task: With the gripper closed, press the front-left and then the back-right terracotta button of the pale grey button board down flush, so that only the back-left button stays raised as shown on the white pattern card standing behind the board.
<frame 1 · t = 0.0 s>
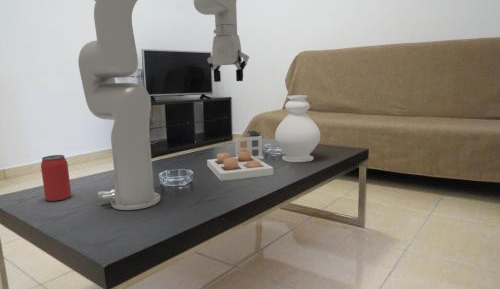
hand: (228, 81, 127), 31 cm above the table, tool pointing down, fingers open, 9 cm apart
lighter: (254, 153, 155), on the table
beer can: (58, 198, 101), on the table
button front left: (230, 163, 120), point 4 cm above the table, slide at 0.0 cm
button board: (238, 170, 127), on the table
decorative vase: (297, 159, 142), on the table
button front right: (253, 166, 123), point 2 cm above the table, slide at 1.9 cm
pattern card: (249, 159, 143), on the table
button back right: (244, 156, 132), point 4 cm above the table, slide at 0.0 cm
button back left: (223, 158, 129), point 4 cm above the table, slide at 0.0 cm
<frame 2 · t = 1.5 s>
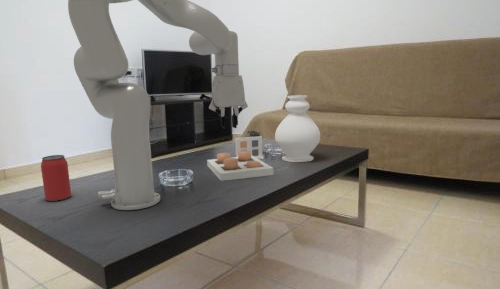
hand: (229, 127, 118), 16 cm above the table, tool pointing down, fingers closed
nothing on the table moved.
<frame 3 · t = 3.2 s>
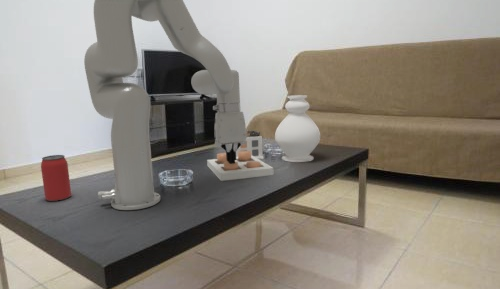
hand: (231, 162, 120), 4 cm above the table, tool pointing down, fingers closed
button front left: (231, 167, 120), point 3 cm above the table, slide at 1.2 cm, touching gripper
everything else where it was.
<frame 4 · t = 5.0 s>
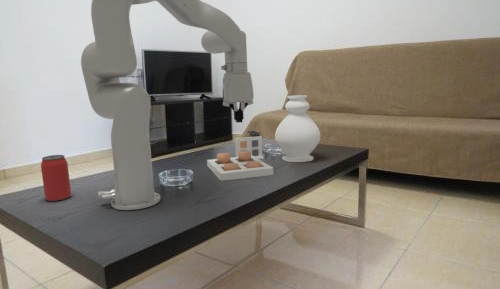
hand: (239, 121, 125), 17 cm above the table, tool pointing down, fingers closed
button front left: (231, 168, 120), point 2 cm above the table, slide at 1.7 cm
everything else where it was.
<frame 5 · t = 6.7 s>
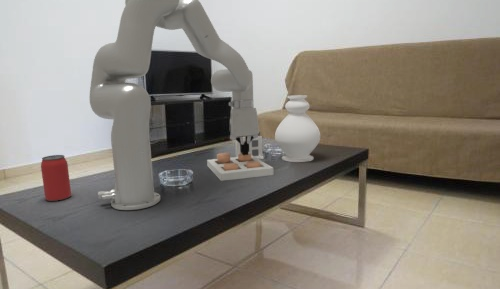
hand: (244, 154, 132), 4 cm above the table, tool pointing down, fingers closed
button back right: (244, 158, 132), point 3 cm above the table, slide at 0.9 cm, touching gripper
everything else where it was.
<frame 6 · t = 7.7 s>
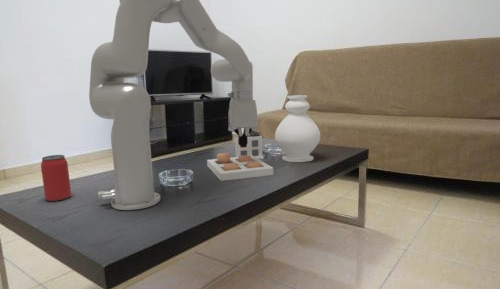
hand: (243, 146, 130), 8 cm above the table, tool pointing down, fingers closed
button back right: (244, 160, 132), point 2 cm above the table, slide at 1.7 cm
everything else where it was.
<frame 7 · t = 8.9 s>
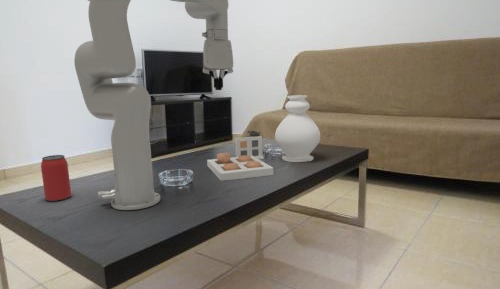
hand: (218, 89, 126), 28 cm above the table, tool pointing down, fingers closed
nothing on the table moved.
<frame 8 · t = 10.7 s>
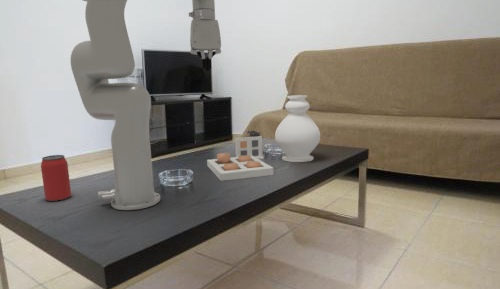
hand: (206, 70, 125), 35 cm above the table, tool pointing down, fingers closed
nothing on the table moved.
at the end: button front left slide at 1.7 cm; button back right slide at 1.7 cm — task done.
